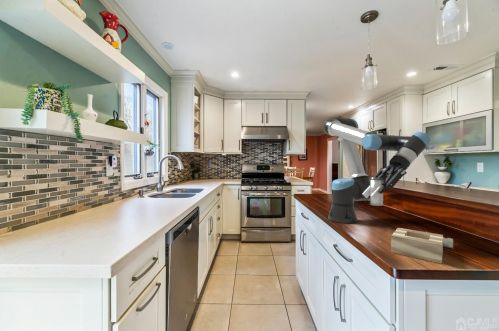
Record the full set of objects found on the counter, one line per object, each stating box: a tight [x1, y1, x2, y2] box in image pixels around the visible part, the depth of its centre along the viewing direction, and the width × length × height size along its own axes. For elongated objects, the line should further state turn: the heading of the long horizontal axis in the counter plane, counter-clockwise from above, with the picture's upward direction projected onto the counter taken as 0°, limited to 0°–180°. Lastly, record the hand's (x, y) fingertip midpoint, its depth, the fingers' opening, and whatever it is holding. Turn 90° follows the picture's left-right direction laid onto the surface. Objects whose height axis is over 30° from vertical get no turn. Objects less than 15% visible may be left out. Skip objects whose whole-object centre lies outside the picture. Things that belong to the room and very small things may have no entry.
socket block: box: [390, 227, 444, 264], centre depth 83 cm, size 14×14×6 cm
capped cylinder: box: [369, 176, 384, 207], centre depth 101 cm, size 5×5×12 cm
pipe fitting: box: [443, 237, 454, 250], centre depth 90 cm, size 8×4×7 cm
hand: (368, 196), depth 101 cm, fingers closed on capped cylinder, 5 cm apart
